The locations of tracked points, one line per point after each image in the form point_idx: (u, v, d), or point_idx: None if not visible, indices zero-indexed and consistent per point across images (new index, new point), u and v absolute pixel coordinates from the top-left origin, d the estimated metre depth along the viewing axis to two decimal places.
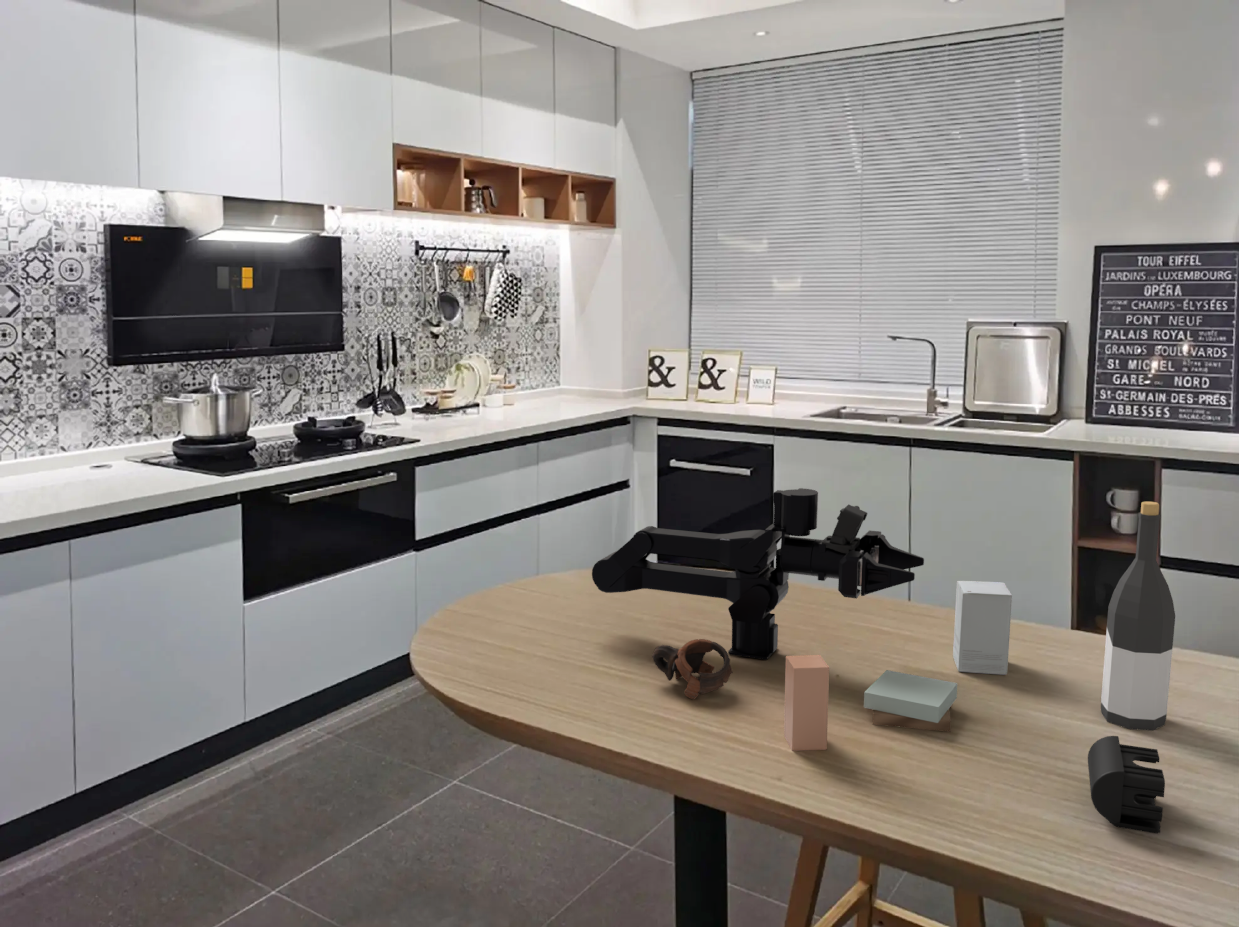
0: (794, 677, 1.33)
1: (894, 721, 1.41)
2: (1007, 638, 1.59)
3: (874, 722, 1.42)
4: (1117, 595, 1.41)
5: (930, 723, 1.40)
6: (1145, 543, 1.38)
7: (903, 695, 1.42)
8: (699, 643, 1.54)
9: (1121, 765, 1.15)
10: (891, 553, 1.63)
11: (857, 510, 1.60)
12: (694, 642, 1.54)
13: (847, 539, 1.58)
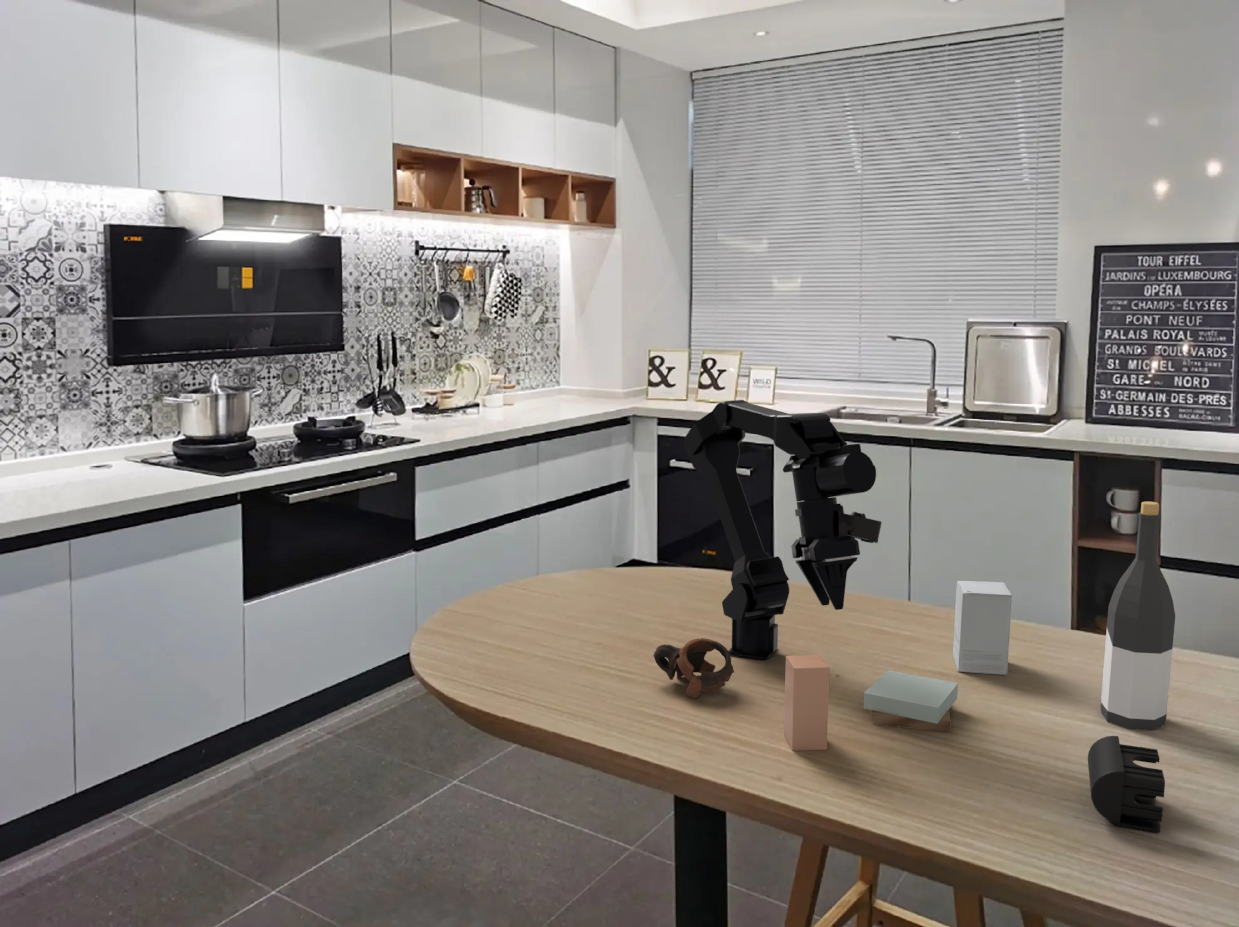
0: (794, 677, 1.33)
1: (894, 722, 1.41)
2: (1007, 638, 1.59)
3: (874, 722, 1.42)
4: (1117, 595, 1.41)
5: (930, 723, 1.40)
6: (1145, 543, 1.38)
7: (903, 696, 1.42)
8: (700, 642, 1.54)
9: (1121, 765, 1.15)
10: None
11: None
12: (695, 641, 1.54)
13: (852, 532, 1.50)
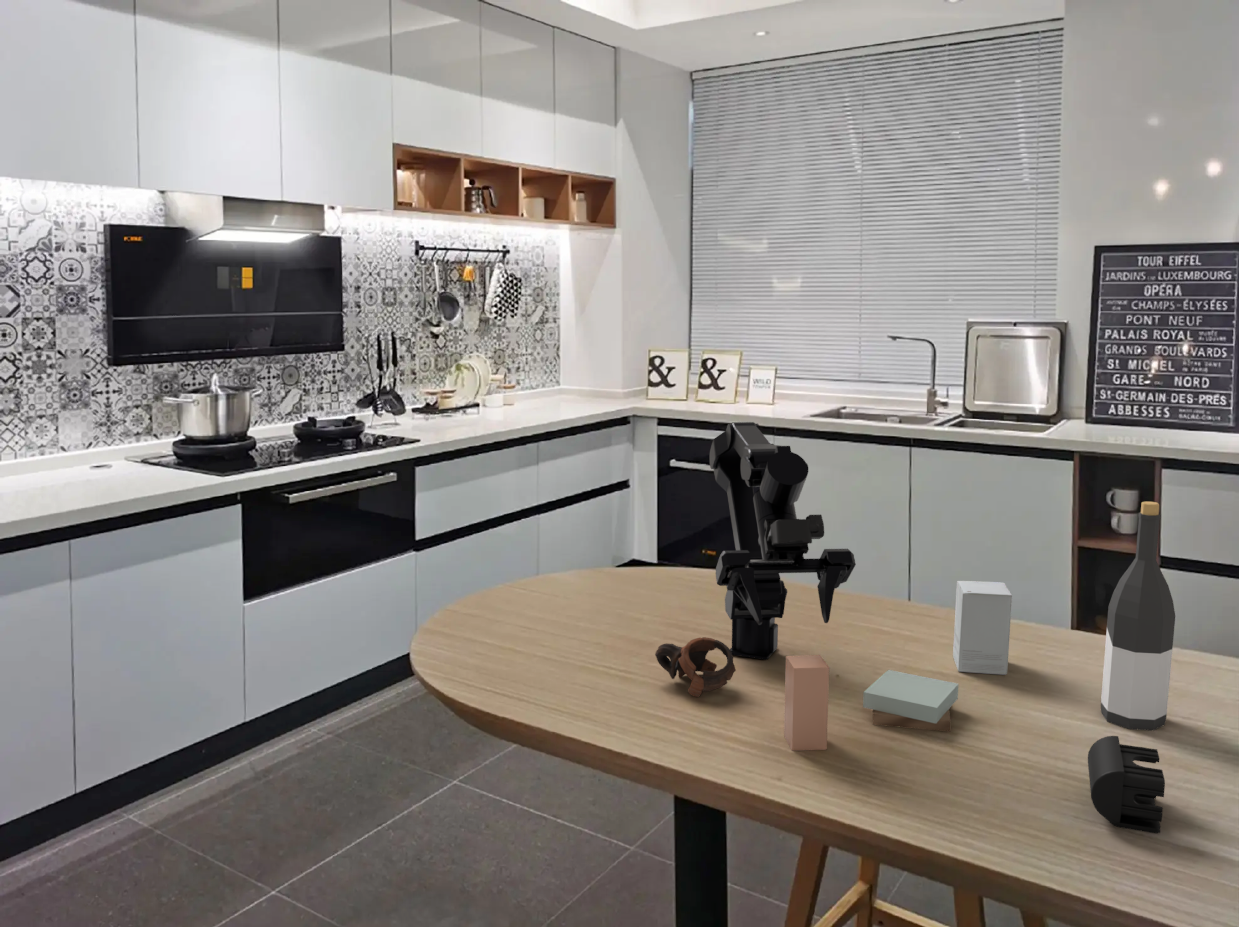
0: (794, 677, 1.33)
1: (894, 721, 1.41)
2: (1007, 638, 1.59)
3: (874, 722, 1.42)
4: (1117, 595, 1.41)
5: (930, 723, 1.40)
6: (1145, 543, 1.38)
7: (902, 696, 1.42)
8: (702, 641, 1.55)
9: (1121, 765, 1.15)
10: (824, 587, 1.45)
11: (798, 531, 1.42)
12: (697, 640, 1.55)
13: (771, 541, 1.45)
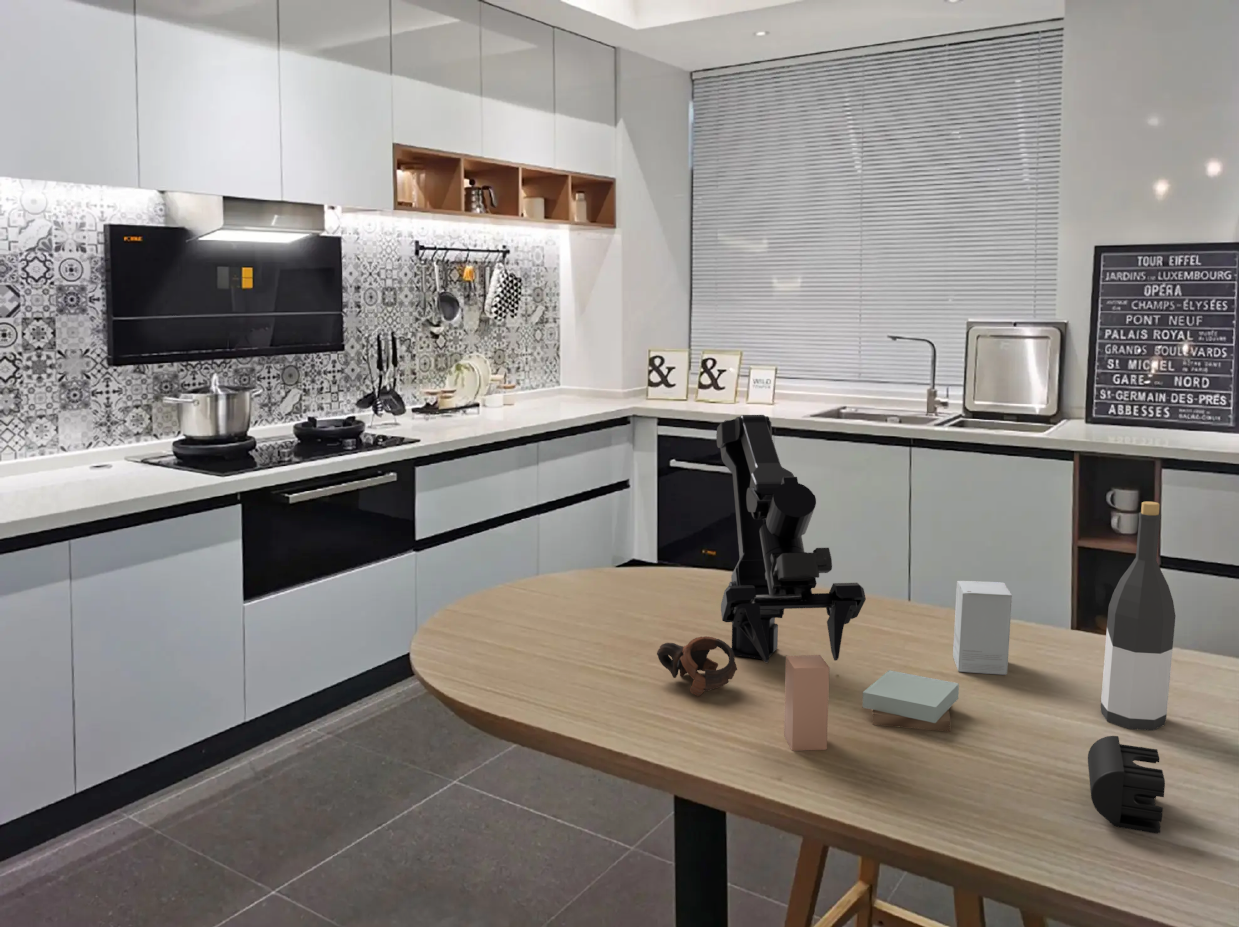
0: (794, 677, 1.33)
1: (894, 721, 1.41)
2: (1007, 638, 1.59)
3: (874, 722, 1.42)
4: (1118, 595, 1.41)
5: (930, 723, 1.40)
6: (1145, 543, 1.38)
7: (902, 695, 1.42)
8: (704, 640, 1.55)
9: (1121, 765, 1.15)
10: (833, 623, 1.40)
11: (804, 565, 1.37)
12: (699, 639, 1.55)
13: (777, 576, 1.40)
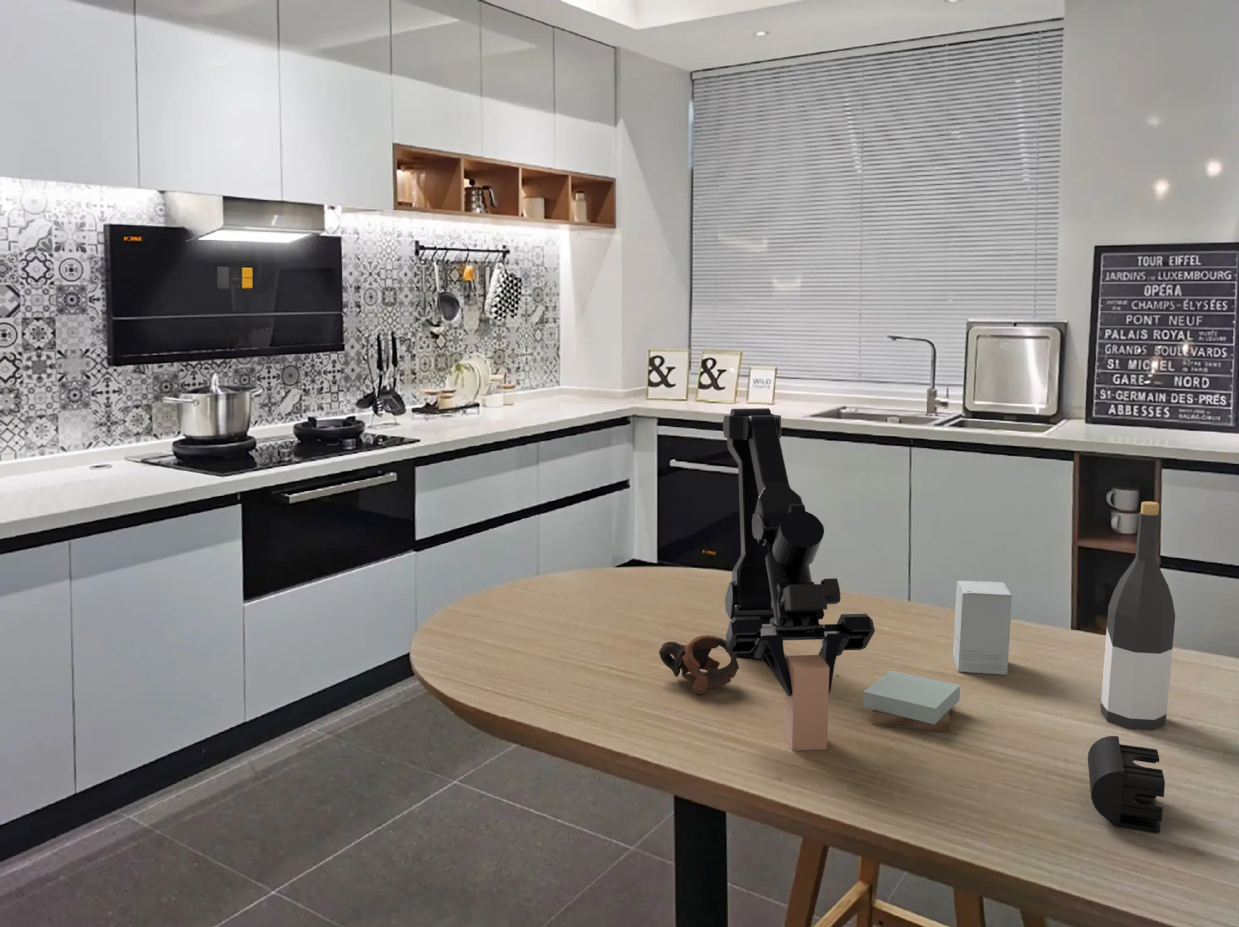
0: (794, 677, 1.33)
1: (894, 721, 1.41)
2: (1007, 638, 1.59)
3: (874, 722, 1.42)
4: (1117, 595, 1.41)
5: (930, 723, 1.40)
6: (1145, 543, 1.38)
7: (902, 696, 1.42)
8: (706, 639, 1.56)
9: (1121, 765, 1.15)
10: (824, 656, 1.36)
11: (812, 597, 1.33)
12: (701, 638, 1.55)
13: (784, 607, 1.37)
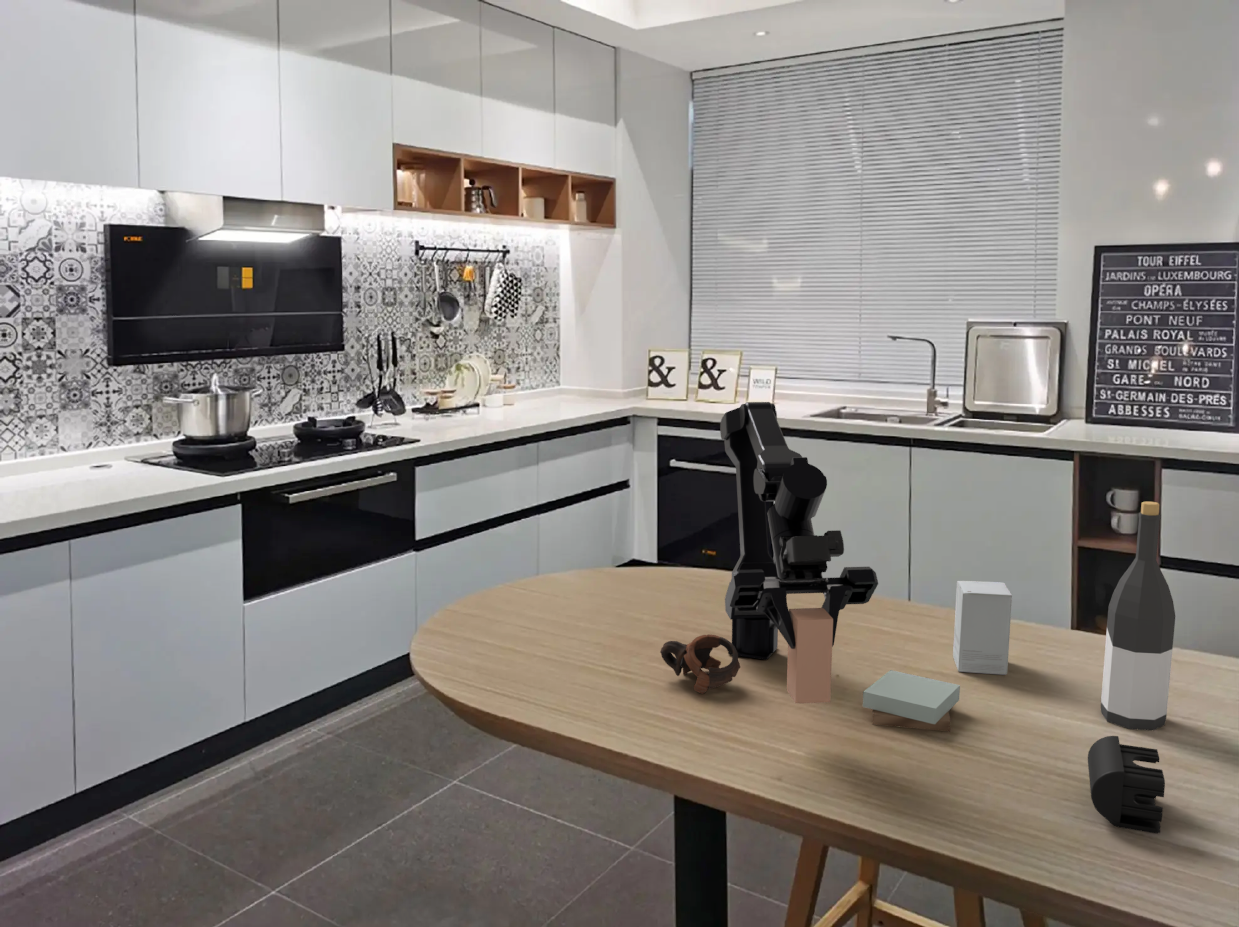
0: (798, 629, 1.32)
1: (894, 722, 1.41)
2: (1007, 638, 1.59)
3: (874, 723, 1.42)
4: (1117, 595, 1.41)
5: (930, 723, 1.40)
6: (1145, 543, 1.38)
7: (902, 696, 1.42)
8: (707, 638, 1.56)
9: (1121, 765, 1.15)
10: (828, 608, 1.35)
11: (816, 549, 1.32)
12: (702, 637, 1.56)
13: (787, 560, 1.35)
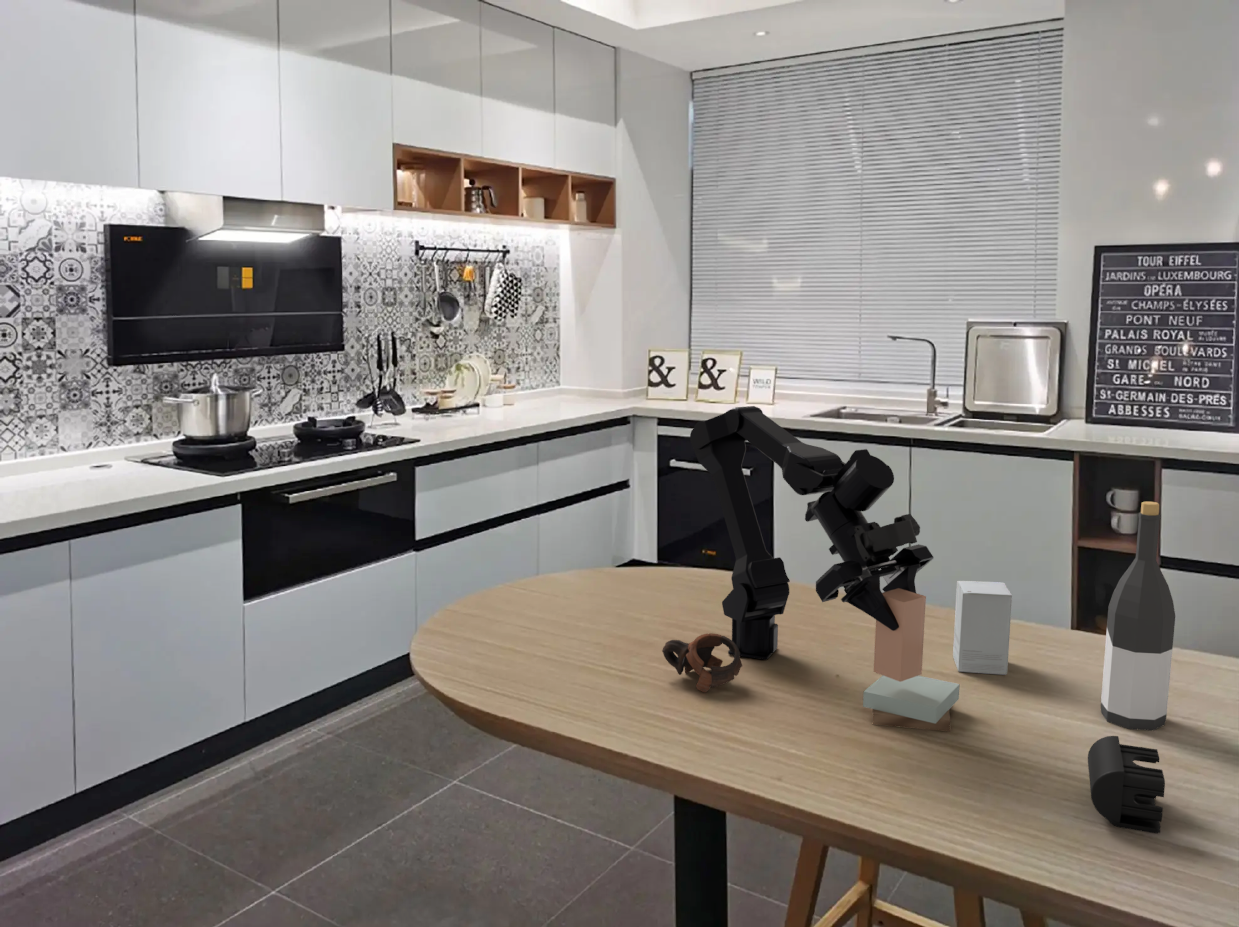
0: (904, 611, 1.39)
1: (894, 721, 1.41)
2: (1007, 638, 1.59)
3: (874, 722, 1.42)
4: (1117, 595, 1.41)
5: (930, 722, 1.40)
6: (1145, 543, 1.38)
7: (903, 695, 1.42)
8: (709, 637, 1.57)
9: (1121, 765, 1.15)
10: (904, 588, 1.44)
11: (907, 533, 1.40)
12: (704, 636, 1.56)
13: (873, 548, 1.41)
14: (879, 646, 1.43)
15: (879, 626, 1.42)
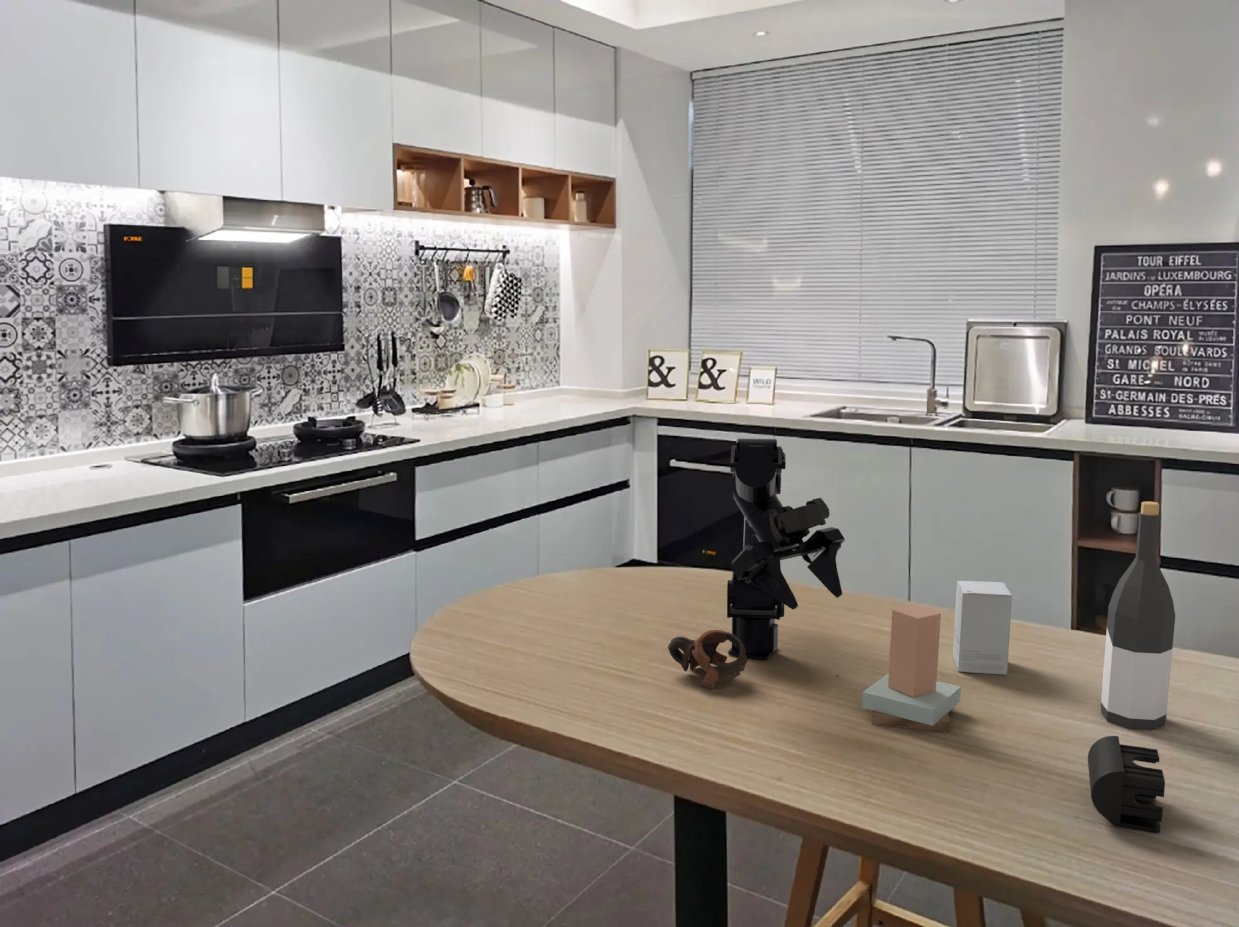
0: (917, 627, 1.40)
1: (893, 722, 1.41)
2: (1007, 638, 1.59)
3: (873, 723, 1.42)
4: (1117, 595, 1.41)
5: None
6: (1145, 543, 1.38)
7: (901, 697, 1.42)
8: (714, 634, 1.58)
9: (1121, 765, 1.15)
10: (826, 565, 1.55)
11: (816, 515, 1.50)
12: (710, 633, 1.58)
13: (785, 529, 1.51)
14: (893, 661, 1.44)
15: (894, 641, 1.44)
